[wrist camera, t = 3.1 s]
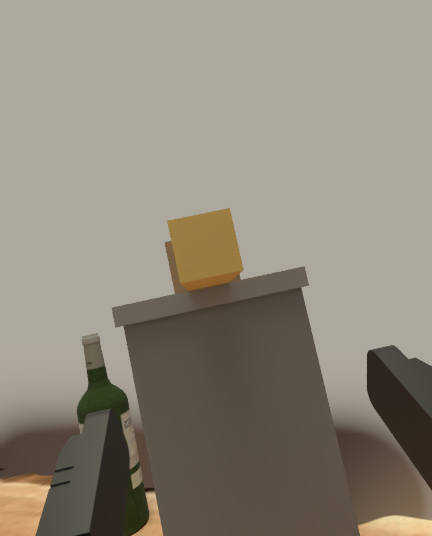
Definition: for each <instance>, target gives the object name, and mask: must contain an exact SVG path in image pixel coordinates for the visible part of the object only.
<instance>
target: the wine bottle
mask: <svg viewBox="0 0 432 536" xmlns="http://www.w3.org/2000/svg"><path fill="white" fill-rule="evenodd" d="M82 344H83V346H84V354H85V361H86V368H87V374H88V382H89V384H88V390H87V391H86V392H85V394H84V395H83V397H82V398H81V400H80V402H79V404H78V407H77V415H78V421H79V427H80V433H81V434H82V430H83V426H84V422H85V418H86V415H87V414H89V413H93V412H98V411H102V410H106V409H111V408H113V409H114V410H115V412H116V415H117V417H118V420H119V422H120V425H121V428H122V430H123V433H124V436H125V438H126V441H127V444H128V448H129V455H130V468H129V479H128V491H127V502H126V514H125V525H124V536H129V535H131V534H133V533H135V532H136V531H138V530H139V529H141V528H142V527H143V526H144V524H145V523H146V522H147V520H148V517H149V510H148V505H147V500H146V494H145V489H144V484H143V478H142V473H141V468H140V462H139V457H138V452H137V447H136V441H135V436H134V430H133V425H132V420H131V415H130V409H129V404H128V398H127V396H126V394H125V393H124V392H123V390H121V389H120V388H118V387H117V386H115V385H113V384H111V383H110V381H109V379H108V377H107V372H106V368H105V364H104V359H103V354H102V350H101V345H100V337H99V336H98V333H96V334H91V335H87V336H83V337H82Z"/></svg>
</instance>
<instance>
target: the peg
mask: <svg viewBox="0 0 432 536" xmlns="http://www.w3.org/2000/svg"><path fill="white" fill-rule="evenodd" d="M167 222H168V227H169V231H170V237H171V241H169V242H165V247H166V252H167V256H168V261H169V266H170V271H171V276H172V281H173V285H174V291H175V294H178V293H183V292H187V291H192V290H197V289H201V288H206V287H211V286H215V285H220V284H225V283H229V282H234V281H239V280H241V279H240V275H239V274H240V272H242V271H243V266H242V261H241V257H240V252H239V248H238V243H237V239H236V234H235V230H234V226H233V221H232V217H231V213H230V209H229V208H228V209H223V210H218V211H213V212H209V213H204V214H199V215H194V216H189V217H184V218H179V219H174V220H169V221H167Z"/></svg>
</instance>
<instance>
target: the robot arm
mask: <svg viewBox="0 0 432 536" xmlns="http://www.w3.org/2000/svg"><path fill="white" fill-rule="evenodd" d="M367 391H368V395H369V398H370V401H371V403H372V405H373V407H374V409H375V410H376V411H377V413H378V414H379V415H380V417H381V419H382V420H383V421H384V423H385V424H386V426H387V427H388V428H389V430H390V431H391V433H392V434H393V436H394V437H395V439H396V440H397V441H398V443H399V444H400V446H401V447H402V448H403V450H404V451H405V453H406V454H407V456H408V457H409V458H410V460H411V461H412V463H413V464H414V466H415V467H416V468H417V470H418V471H419V473H420V474H421V476H422V477H423V478H424V480H425V481H426V483H427V484H428V486H429V487H430V488H431V489H432V366H430V365H428V364H426V363H424V362H423V361H420V360H419V359H417V358H412V359H408V358H407V357H406V356H405V355H403V353H402V352H401V351H400V350H399V349H398V348H397V347H395V346H393V345H391V346H386V347H382V348H377V349H373V350H369V351H368V353H367ZM129 468H130V455H129V448H128V444H127V441H126V438H125V436H124V433H123V430H122V428H121V425H120V422H119V420H118V417H117V415H116V412H115V410H114V409H113V408H111V409H106V410H102V411H98V412H93V413H89V414H87V415H86V418H85V422H84V426H83V430H82V434H79V435H74V436H71V437H70V439H69V440H68V442H67V443H66V445H65V446H64V448H63V449H62V451H61V452H60V454H59V457H58V461H57V464H56V467H55V474H54V475H53V478H52V481H51V485H50V486H51V488H50V489H49V492H48V495H47V498H46V502H45V505H44V509H43V512H42V516H41V519H40V522H39V526H38V529H37V533H36V536H124V525H125V514H126V502H127V491H128V479H129Z"/></svg>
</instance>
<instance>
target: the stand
mask: <svg viewBox="0 0 432 536" xmlns="http://www.w3.org/2000/svg"><path fill="white" fill-rule="evenodd" d="M308 285H309V284H308V280H307V276H306V271H305V267H299V268H295V269H290V270H286V271H281V272H276V273H272V274H267V275H263V276H257V277H253V278H248V279H243V280H239V281H234V282H229V283H225V284H220V285H215V286H211V287H206V288H201V289H197V290H192V291H187V292H183V293H178V294H174V295H169V296H164V297H160V298H155V299H150V300H146V301H141V302H136V303H132V304H127V305H123V306H118V307H113V308H112V311H113V317H114V322H115V327H120V326H124V330H125V335H126V340H127V346H128V351H129V357H130V362H131V367H132V372H133V378H134V383H135V388H136V393H137V398H138V404H139V409H140V414H141V420H142V425H143V430H144V435H145V440H146V446H147V451H148V456H149V461H150V467H151V472H152V477H153V482H154V488H155V493H156V498H157V504H158V509H159V514H160V519H161V525H162V530H163V535H164V536H360V534H359V529H358V525H357V521H356V517H355V513H354V508H353V505H352V500H351V496H350V492H349V488H348V484H347V479H346V475H345V471H344V466H343V462H342V458H341V454H340V450H339V445H338V441H337V437H336V433H335V428H334V424H333V420H332V416H331V412H330V407H329V403H328V399H327V395H326V391H325V386H324V382H323V378H322V374H321V369H320V365H319V361H318V357H317V353H316V348H315V344H314V340H313V336H312V332H311V328H310V323H309V319H308V315H307V310H306V306H305V302H304V298H303V294H302V289H301V287H304V286H308Z"/></svg>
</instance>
